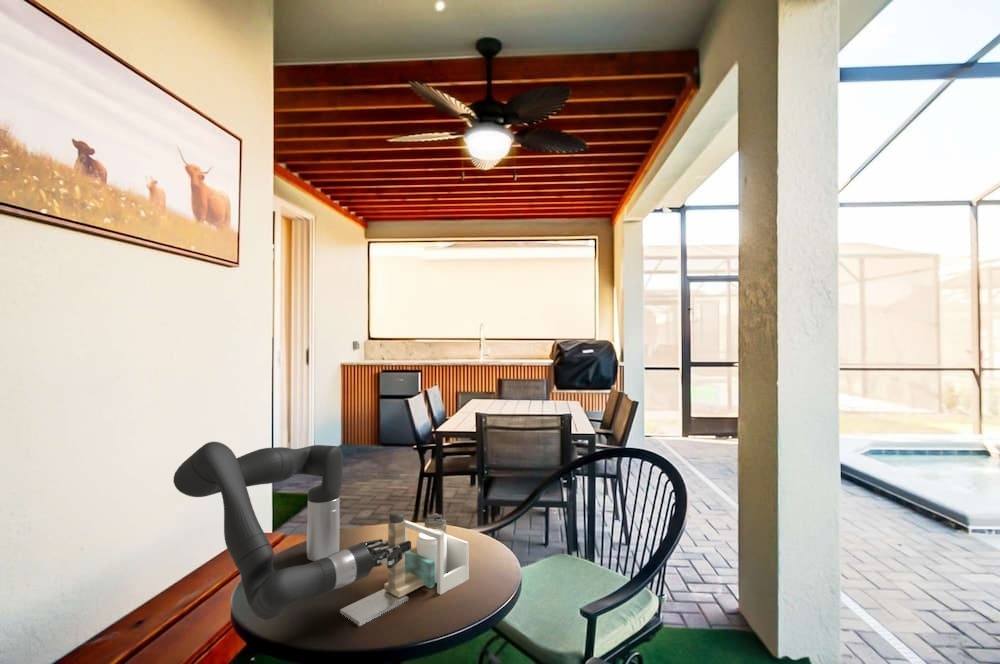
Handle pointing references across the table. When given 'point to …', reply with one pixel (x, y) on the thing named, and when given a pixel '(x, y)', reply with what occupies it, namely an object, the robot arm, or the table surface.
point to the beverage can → (431, 549)
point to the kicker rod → (406, 563)
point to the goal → (455, 558)
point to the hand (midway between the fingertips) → (405, 542)
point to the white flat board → (372, 606)
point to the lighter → (436, 522)
